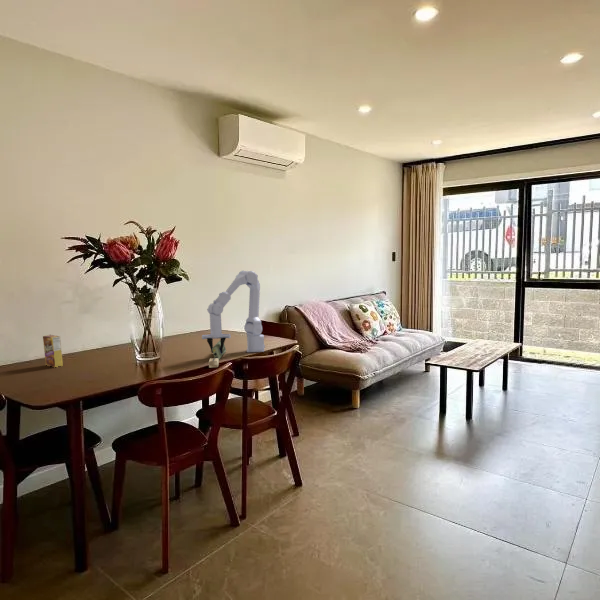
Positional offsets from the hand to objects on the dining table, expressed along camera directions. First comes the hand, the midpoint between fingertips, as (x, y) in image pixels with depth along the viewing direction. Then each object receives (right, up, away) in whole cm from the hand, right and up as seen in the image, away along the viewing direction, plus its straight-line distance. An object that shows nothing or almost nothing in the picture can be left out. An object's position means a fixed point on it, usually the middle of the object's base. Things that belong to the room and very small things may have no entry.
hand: (217, 352), depth 237 cm
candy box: (-79, -6, -10) cm, 80 cm away
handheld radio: (+1, -3, +1) cm, 3 cm away
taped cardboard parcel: (0, -3, 0) cm, 3 cm away
